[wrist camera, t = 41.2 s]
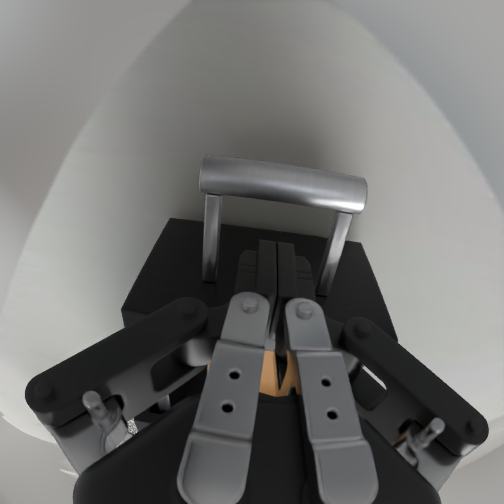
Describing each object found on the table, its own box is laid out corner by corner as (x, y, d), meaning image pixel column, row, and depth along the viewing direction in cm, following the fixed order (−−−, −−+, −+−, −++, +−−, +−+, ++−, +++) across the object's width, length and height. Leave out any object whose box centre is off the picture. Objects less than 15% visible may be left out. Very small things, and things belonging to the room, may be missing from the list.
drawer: (171, 124, 15) (101, 176, 9) (386, 155, 16) (456, 225, 9) (177, 360, 26) (157, 440, 19) (309, 375, 26) (314, 457, 19)
